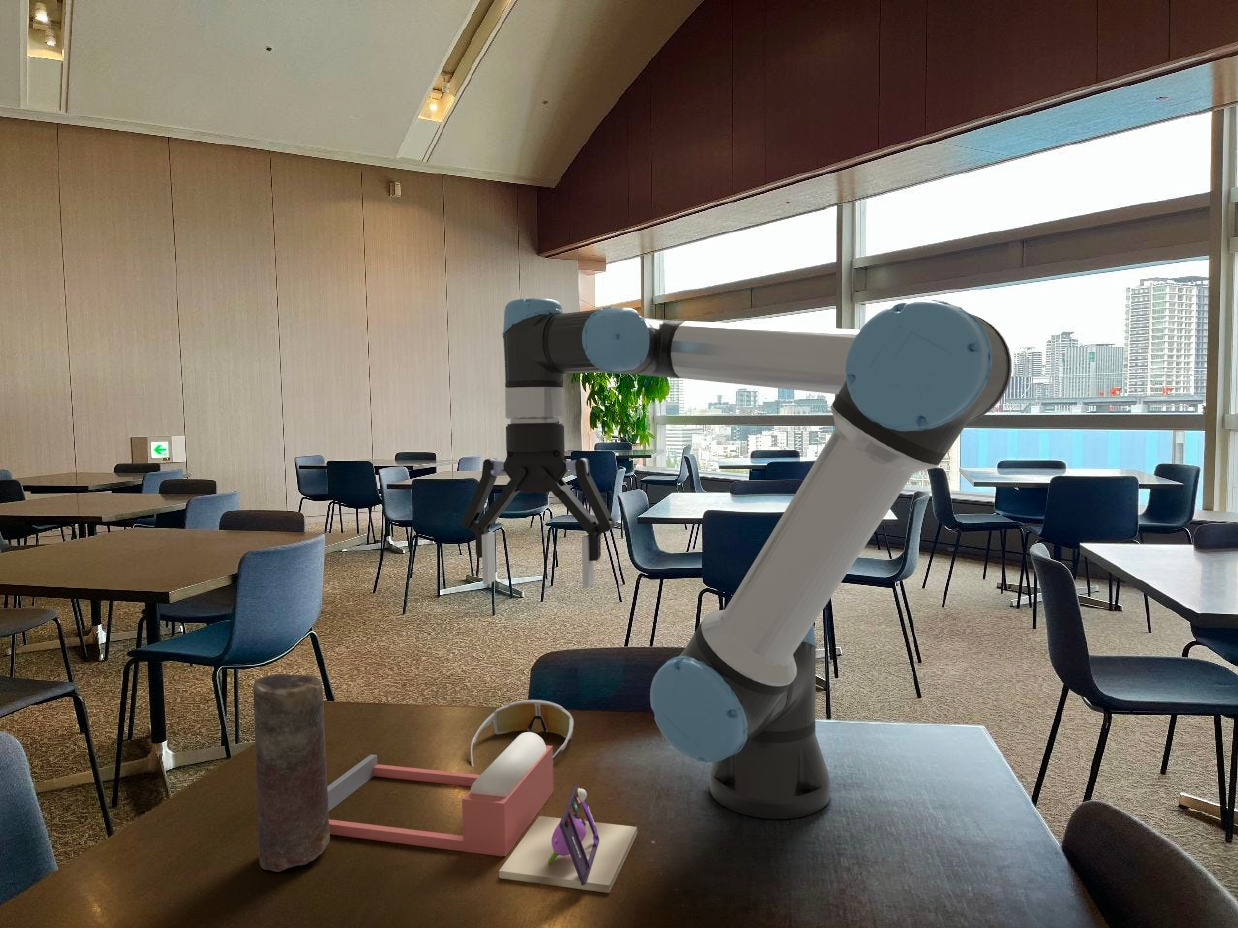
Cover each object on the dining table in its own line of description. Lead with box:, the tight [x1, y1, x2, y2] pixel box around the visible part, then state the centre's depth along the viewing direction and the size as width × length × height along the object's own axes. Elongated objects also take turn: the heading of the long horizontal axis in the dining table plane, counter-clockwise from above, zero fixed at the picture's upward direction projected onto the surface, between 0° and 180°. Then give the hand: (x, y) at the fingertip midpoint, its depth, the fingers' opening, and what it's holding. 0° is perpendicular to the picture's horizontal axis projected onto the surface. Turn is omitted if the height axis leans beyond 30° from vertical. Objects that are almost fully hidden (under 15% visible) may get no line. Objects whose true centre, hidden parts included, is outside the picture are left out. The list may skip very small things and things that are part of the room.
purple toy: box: [548, 783, 599, 886], centre depth 87 cm, size 7×5×9 cm
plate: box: [498, 815, 638, 894], centre depth 89 cm, size 12×12×1 cm
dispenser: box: [327, 731, 555, 858], centre depth 100 cm, size 26×16×8 cm, turn 75°
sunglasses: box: [469, 699, 575, 768], centre depth 119 cm, size 14×15×5 cm
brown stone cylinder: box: [252, 673, 331, 873], centre depth 90 cm, size 8×7×20 cm
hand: (538, 584), depth 106 cm, fingers open, 13 cm apart
